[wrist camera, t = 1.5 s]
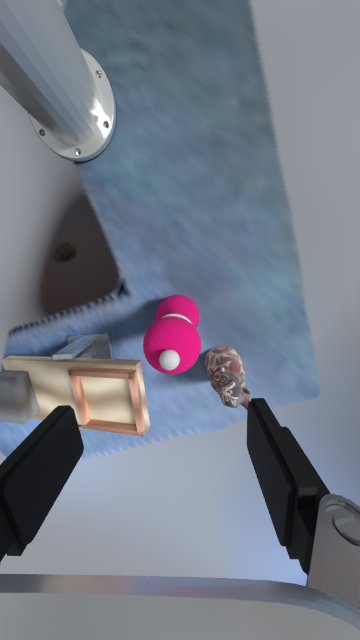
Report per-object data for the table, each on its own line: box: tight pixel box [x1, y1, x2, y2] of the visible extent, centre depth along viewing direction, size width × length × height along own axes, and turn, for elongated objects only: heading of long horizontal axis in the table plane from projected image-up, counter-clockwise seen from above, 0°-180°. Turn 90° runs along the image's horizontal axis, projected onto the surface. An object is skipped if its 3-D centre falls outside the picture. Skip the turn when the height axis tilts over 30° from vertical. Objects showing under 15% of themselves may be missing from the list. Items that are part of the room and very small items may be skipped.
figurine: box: [205, 346, 250, 410], centre depth 31 cm, size 7×7×12 cm
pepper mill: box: [143, 295, 201, 374], centre depth 25 cm, size 7×7×20 cm
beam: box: [0, 356, 150, 436], centre depth 29 cm, size 12×25×4 cm, turn 94°
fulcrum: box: [52, 333, 114, 431], centre depth 34 cm, size 15×8×8 cm, turn 4°
